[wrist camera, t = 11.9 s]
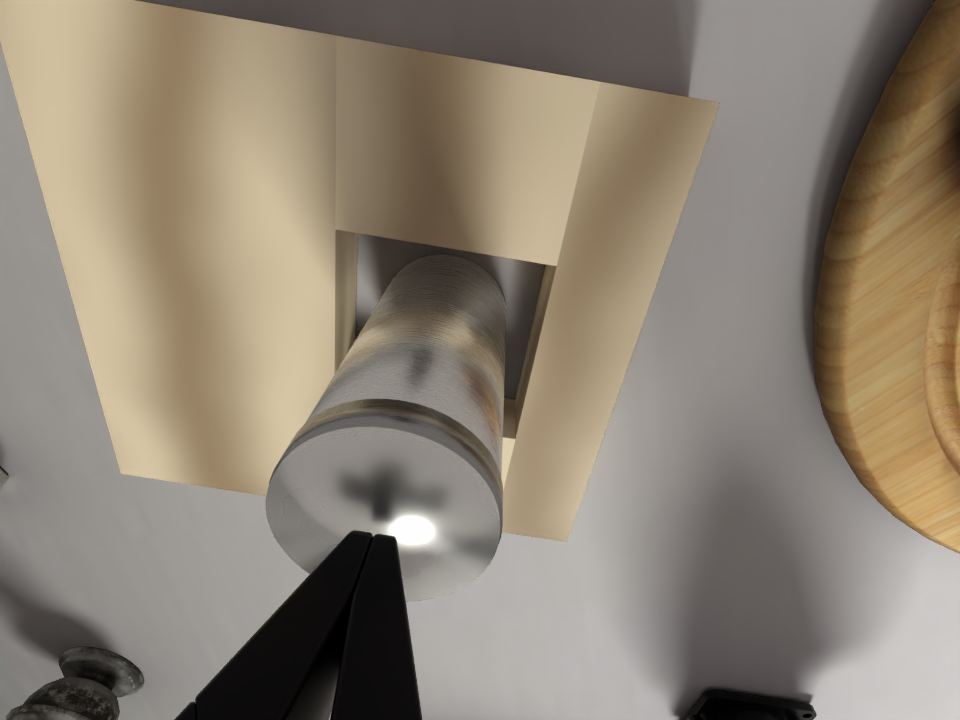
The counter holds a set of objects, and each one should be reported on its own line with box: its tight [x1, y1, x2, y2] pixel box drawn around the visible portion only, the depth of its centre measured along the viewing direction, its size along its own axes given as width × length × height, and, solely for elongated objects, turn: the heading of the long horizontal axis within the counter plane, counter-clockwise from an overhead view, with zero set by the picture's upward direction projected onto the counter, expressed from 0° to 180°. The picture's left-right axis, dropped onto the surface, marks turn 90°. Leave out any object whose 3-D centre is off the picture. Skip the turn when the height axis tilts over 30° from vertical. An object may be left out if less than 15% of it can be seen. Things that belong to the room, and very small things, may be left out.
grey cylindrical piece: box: [266, 254, 506, 601], centre depth 14 cm, size 5×5×10 cm
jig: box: [0, 0, 720, 542], centre depth 17 cm, size 18×16×2 cm
